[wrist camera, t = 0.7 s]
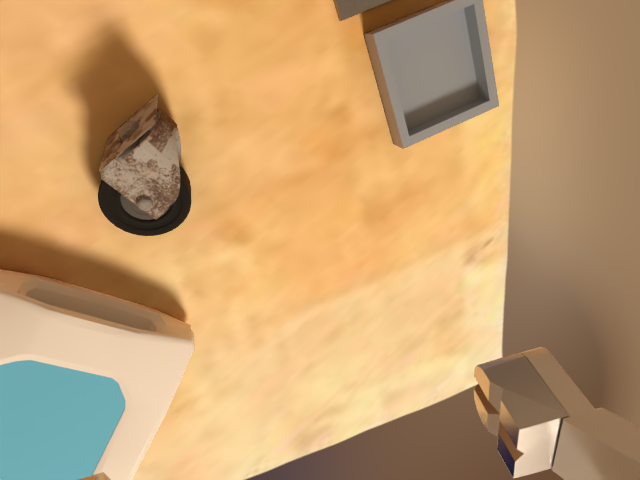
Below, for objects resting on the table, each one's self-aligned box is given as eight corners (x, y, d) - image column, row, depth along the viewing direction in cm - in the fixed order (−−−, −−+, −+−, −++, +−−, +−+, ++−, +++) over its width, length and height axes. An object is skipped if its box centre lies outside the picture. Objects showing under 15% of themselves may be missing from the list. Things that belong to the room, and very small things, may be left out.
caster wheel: (151, 223, 51) (69, 163, 45) (229, 161, 49) (153, 88, 43) (147, 263, 46) (54, 201, 40) (234, 195, 44) (149, 118, 38)
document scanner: (195, 319, 55) (198, 351, 49) (104, 498, 61) (99, 544, 55) (-12, 258, 46) (-36, 288, 40) (-94, 475, 52) (-124, 527, 46)
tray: (363, 34, 48) (373, 34, 45) (466, -9, 49) (481, -11, 47) (393, 144, 53) (403, 148, 51) (485, 102, 55) (499, 105, 52)
